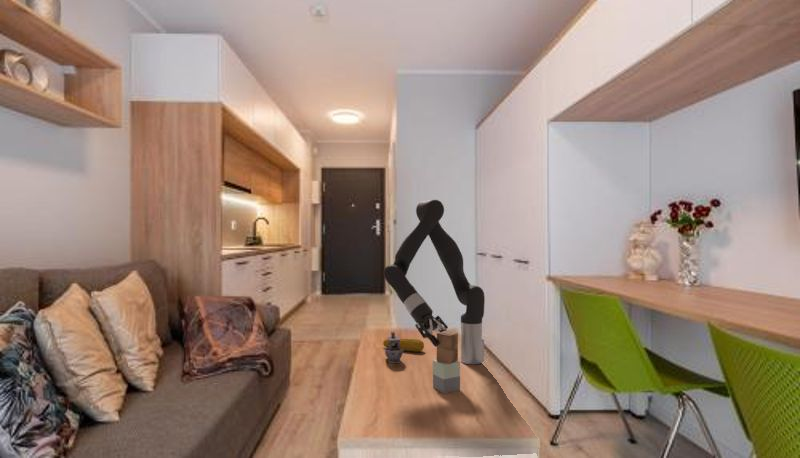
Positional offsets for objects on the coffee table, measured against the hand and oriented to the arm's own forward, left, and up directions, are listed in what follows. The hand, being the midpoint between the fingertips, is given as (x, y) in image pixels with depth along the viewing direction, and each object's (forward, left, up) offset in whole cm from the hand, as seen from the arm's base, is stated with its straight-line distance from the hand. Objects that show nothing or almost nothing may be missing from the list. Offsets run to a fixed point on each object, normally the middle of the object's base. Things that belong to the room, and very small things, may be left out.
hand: (443, 342), depth 156 cm
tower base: (0, +1, -16) cm, 16 cm away
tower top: (0, +1, -11) cm, 11 cm away
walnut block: (-1, +1, -6) cm, 6 cm away
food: (-11, -52, -17) cm, 56 cm away
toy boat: (+2, -37, -16) cm, 41 cm away
